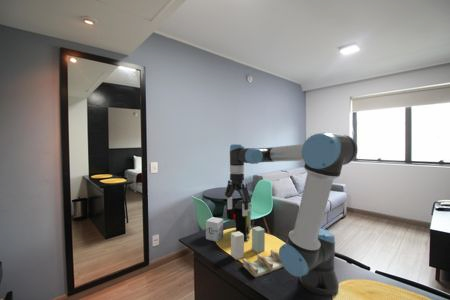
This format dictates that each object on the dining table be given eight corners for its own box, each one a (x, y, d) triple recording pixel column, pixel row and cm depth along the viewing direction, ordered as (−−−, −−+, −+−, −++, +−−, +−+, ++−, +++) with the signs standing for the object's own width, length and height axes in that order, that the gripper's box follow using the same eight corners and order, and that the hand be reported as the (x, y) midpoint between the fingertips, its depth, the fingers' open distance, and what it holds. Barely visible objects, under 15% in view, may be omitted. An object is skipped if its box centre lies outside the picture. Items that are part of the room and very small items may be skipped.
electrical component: (249, 241, 126) (249, 209, 126) (232, 240, 128) (233, 208, 128) (251, 229, 144) (251, 201, 143) (236, 228, 146) (237, 200, 145)
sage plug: (264, 250, 116) (264, 229, 116) (257, 252, 114) (257, 231, 113) (258, 246, 120) (259, 226, 120) (251, 248, 118) (252, 227, 118)
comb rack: (286, 265, 102) (286, 258, 101) (255, 277, 92) (255, 269, 92) (272, 256, 110) (272, 249, 110) (243, 266, 101) (243, 258, 101)
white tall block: (243, 257, 109) (243, 234, 109) (235, 259, 107) (235, 236, 106) (238, 252, 114) (238, 231, 113) (230, 255, 111) (230, 233, 111)
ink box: (212, 233, 137) (212, 216, 137) (223, 236, 134) (223, 218, 133) (205, 239, 130) (205, 220, 129) (217, 242, 126) (217, 223, 125)
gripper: (258, 175, 103) (258, 217, 103) (229, 170, 124) (229, 205, 124) (246, 176, 99) (246, 220, 99) (218, 171, 120) (219, 207, 120)
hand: (237, 212), depth 112 cm, fingers open, 13 cm apart
